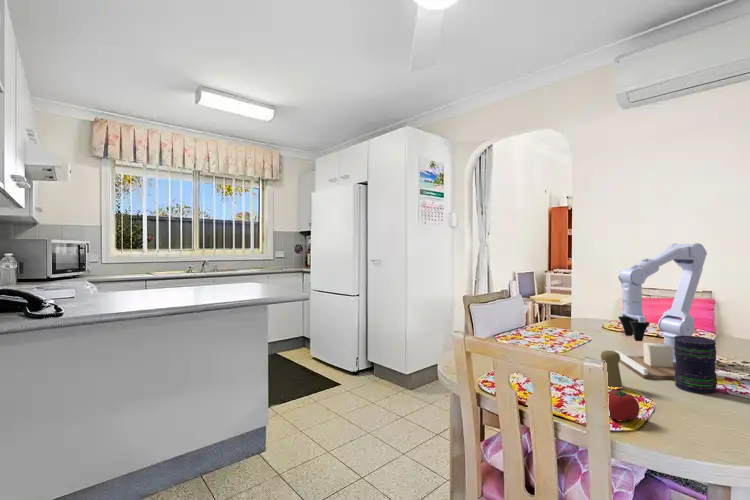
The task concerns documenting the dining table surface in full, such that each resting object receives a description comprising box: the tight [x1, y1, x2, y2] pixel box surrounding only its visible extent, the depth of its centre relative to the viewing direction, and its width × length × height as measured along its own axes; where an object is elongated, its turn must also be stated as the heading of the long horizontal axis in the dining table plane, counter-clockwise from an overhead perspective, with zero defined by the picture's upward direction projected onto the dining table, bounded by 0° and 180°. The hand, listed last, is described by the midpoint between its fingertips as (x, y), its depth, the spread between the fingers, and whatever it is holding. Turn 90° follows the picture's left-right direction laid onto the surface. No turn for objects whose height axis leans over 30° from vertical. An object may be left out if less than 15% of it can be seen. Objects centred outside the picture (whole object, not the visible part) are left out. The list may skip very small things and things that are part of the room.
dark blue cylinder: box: [674, 335, 718, 396], centre depth 115 cm, size 10×10×15 cm
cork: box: [600, 350, 623, 387], centre depth 119 cm, size 6×6×11 cm
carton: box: [642, 342, 673, 367], centre depth 135 cm, size 5×7×7 cm
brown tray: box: [614, 350, 676, 381], centre depth 134 cm, size 16×22×3 cm
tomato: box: [608, 390, 641, 422], centre depth 98 cm, size 8×8×7 cm
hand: (633, 338), depth 139 cm, fingers open, 7 cm apart
